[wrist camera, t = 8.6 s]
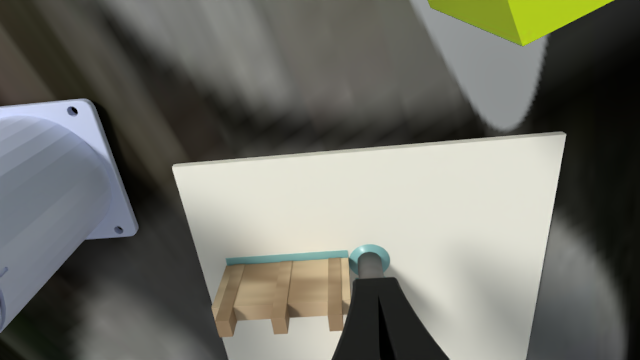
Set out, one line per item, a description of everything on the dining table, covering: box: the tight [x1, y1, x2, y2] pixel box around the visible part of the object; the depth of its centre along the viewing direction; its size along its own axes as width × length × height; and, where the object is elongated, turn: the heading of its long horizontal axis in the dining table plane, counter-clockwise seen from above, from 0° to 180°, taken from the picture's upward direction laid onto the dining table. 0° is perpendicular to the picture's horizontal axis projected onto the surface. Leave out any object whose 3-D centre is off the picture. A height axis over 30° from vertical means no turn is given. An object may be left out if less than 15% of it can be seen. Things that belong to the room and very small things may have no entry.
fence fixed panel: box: [212, 252, 384, 337], centre depth 22 cm, size 9×1×5 cm, turn 96°
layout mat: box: [172, 131, 566, 360], centre depth 25 cm, size 20×18×1 cm
